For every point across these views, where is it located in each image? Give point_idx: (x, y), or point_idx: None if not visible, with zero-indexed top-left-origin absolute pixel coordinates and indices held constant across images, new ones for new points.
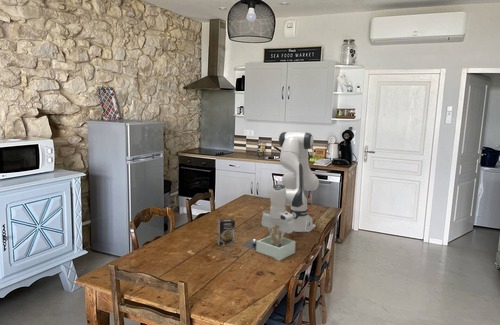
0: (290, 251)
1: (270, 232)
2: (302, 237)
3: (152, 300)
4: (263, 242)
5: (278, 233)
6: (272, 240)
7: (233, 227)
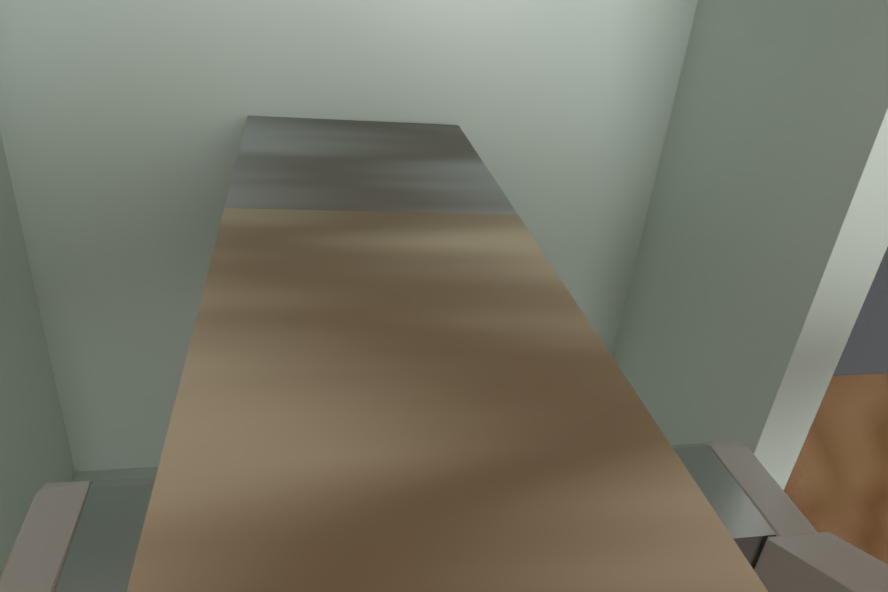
0: None
1: (795, 543)
2: None
3: None
4: (776, 170)
5: None
6: (485, 264)
7: None
